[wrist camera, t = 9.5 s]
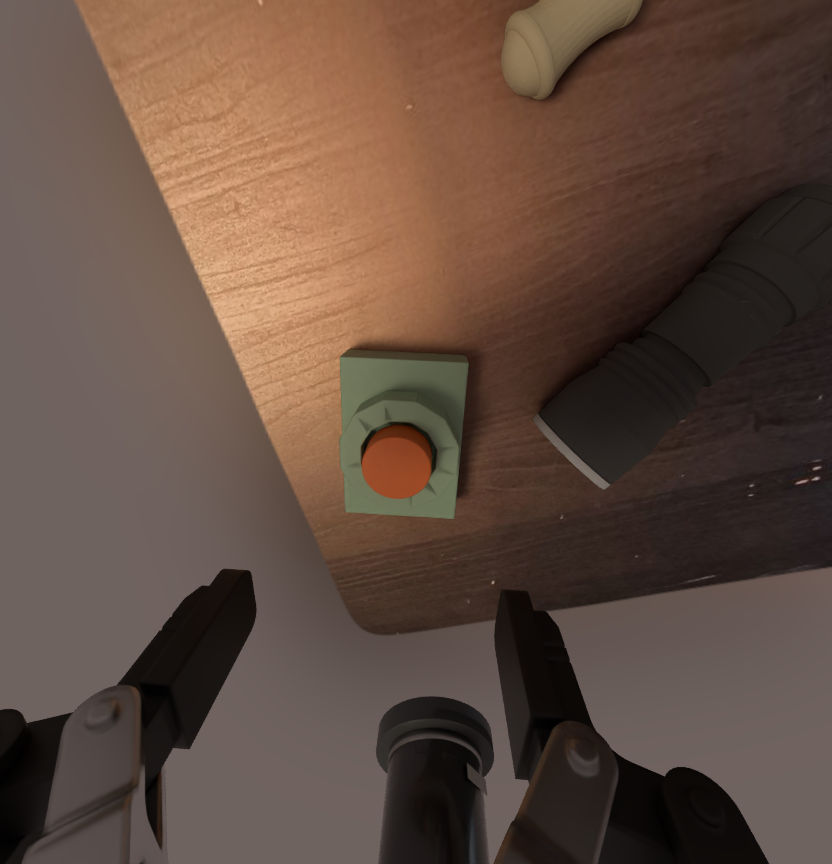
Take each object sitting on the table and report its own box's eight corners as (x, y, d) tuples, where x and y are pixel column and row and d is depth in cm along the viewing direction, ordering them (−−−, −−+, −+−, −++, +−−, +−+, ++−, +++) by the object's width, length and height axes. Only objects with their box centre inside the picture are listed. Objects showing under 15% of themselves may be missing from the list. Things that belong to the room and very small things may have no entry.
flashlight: (754, 183, 19) (869, 150, 14) (814, 261, 20) (940, 256, 15) (523, 407, 24) (547, 442, 19) (582, 460, 25) (619, 506, 20)
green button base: (453, 500, 27) (455, 537, 23) (352, 494, 27) (338, 529, 23) (466, 354, 23) (471, 370, 19) (348, 349, 23) (330, 363, 19)
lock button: (430, 484, 22) (429, 501, 20) (367, 481, 22) (361, 497, 21) (433, 426, 21) (433, 438, 19) (366, 422, 21) (360, 435, 19)
